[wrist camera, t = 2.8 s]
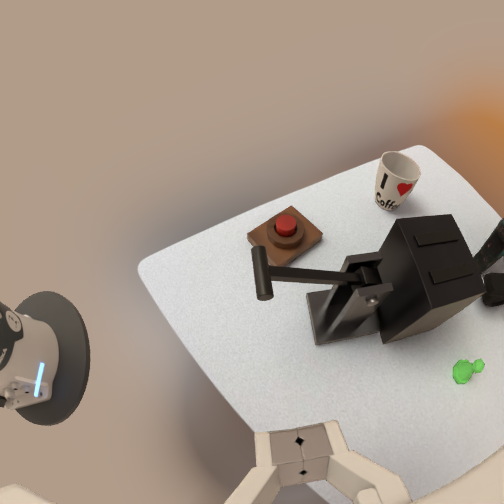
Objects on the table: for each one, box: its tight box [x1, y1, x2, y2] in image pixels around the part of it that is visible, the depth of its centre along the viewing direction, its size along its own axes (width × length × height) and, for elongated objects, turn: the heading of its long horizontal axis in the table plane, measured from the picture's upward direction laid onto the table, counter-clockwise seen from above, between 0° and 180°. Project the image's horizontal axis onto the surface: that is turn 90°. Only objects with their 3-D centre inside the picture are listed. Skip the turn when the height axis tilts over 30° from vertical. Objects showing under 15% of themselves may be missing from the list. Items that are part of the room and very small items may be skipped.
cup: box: [375, 151, 421, 210], centre depth 47 cm, size 8×8×10 cm
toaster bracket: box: [306, 251, 394, 345], centre depth 34 cm, size 10×8×14 cm
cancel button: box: [276, 215, 296, 237], centre depth 44 cm, size 3×3×2 cm
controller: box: [483, 273, 504, 307], centre depth 34 cm, size 4×12×10 cm, turn 82°
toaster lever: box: [251, 245, 383, 301], centre depth 27 cm, size 15×5×2 cm, turn 96°
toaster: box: [375, 214, 486, 344], centre depth 33 cm, size 10×12×15 cm
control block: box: [247, 206, 323, 267], centre depth 46 cm, size 10×8×4 cm
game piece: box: [453, 359, 485, 384], centre depth 29 cm, size 4×4×6 cm
